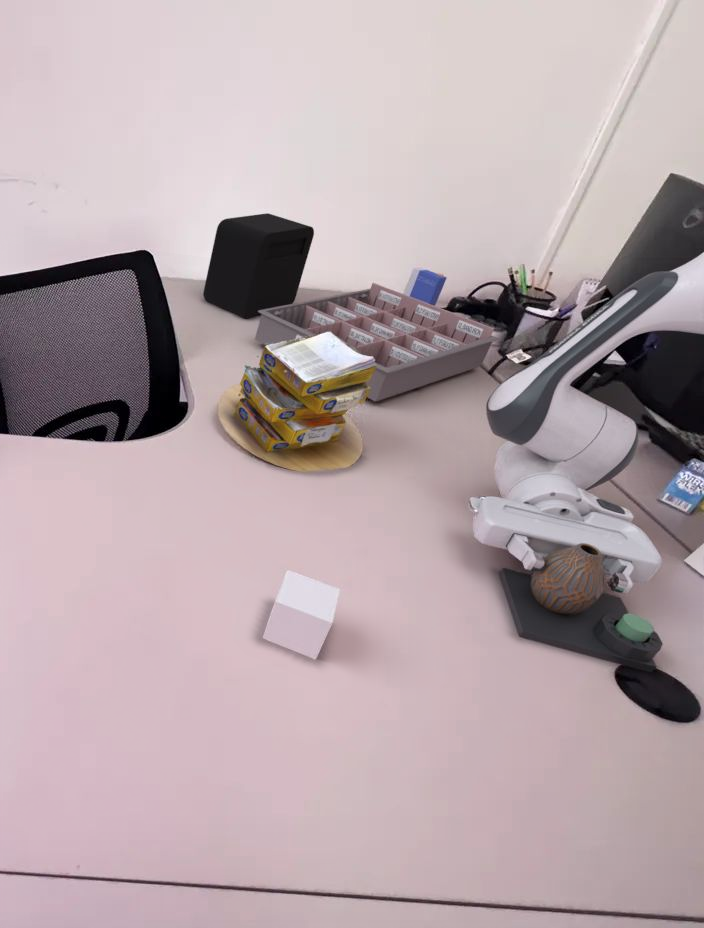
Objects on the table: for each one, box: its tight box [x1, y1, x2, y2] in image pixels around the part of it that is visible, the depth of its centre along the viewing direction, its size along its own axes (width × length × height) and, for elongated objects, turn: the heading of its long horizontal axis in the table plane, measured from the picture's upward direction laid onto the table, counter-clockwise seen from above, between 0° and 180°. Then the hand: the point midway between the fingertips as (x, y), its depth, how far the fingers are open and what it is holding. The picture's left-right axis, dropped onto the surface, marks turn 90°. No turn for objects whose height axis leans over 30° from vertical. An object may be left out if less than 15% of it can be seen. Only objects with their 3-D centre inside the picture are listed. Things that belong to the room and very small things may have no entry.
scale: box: [498, 567, 664, 674], centre depth 83 cm, size 14×12×3 cm
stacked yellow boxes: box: [216, 332, 376, 473], centre depth 112 cm, size 25×25×17 cm
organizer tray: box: [254, 282, 499, 403], centre depth 144 cm, size 32×40×10 cm
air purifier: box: [202, 213, 315, 320], centre depth 163 cm, size 20×15×20 cm
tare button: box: [615, 613, 655, 643], centre depth 78 cm, size 3×3×2 cm
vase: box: [531, 543, 606, 614], centre depth 82 cm, size 7×7×9 cm
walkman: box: [402, 267, 448, 306], centre depth 169 cm, size 8×3×12 cm, turn 27°
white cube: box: [262, 569, 341, 661], centre depth 76 cm, size 6×6×6 cm
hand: (578, 577), depth 80 cm, fingers open, 8 cm apart
